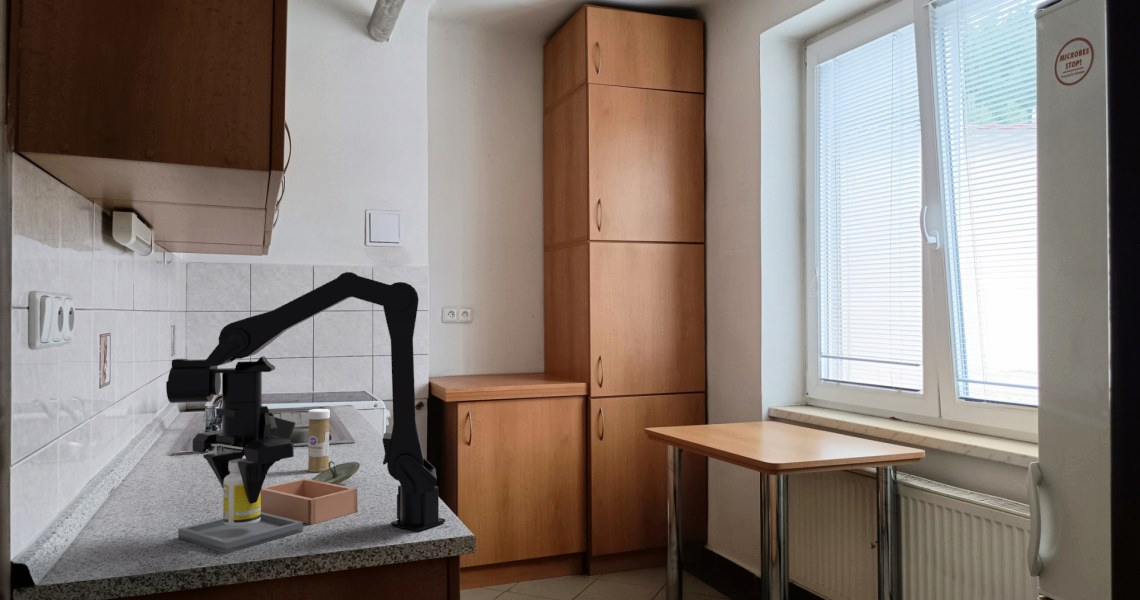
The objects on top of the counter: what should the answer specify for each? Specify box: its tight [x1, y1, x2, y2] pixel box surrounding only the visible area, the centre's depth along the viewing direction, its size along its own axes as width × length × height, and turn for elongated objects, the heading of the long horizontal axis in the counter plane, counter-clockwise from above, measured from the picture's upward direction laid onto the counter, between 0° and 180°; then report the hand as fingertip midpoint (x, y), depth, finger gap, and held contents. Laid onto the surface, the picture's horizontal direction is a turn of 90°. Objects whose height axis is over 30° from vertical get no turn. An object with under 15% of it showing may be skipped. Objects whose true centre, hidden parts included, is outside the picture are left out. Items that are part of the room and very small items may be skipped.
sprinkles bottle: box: [307, 408, 331, 473], centre depth 166 cm, size 5×5×14 cm
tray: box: [177, 512, 304, 554], centre depth 118 cm, size 13×13×2 cm
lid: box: [311, 460, 361, 485], centre depth 152 cm, size 11×10×5 cm
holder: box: [261, 478, 358, 525], centre depth 132 cm, size 15×10×4 cm, turn 56°
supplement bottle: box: [222, 457, 261, 527], centre depth 118 cm, size 5×5×10 cm
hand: (242, 500), depth 118 cm, fingers closed on supplement bottle, 5 cm apart
